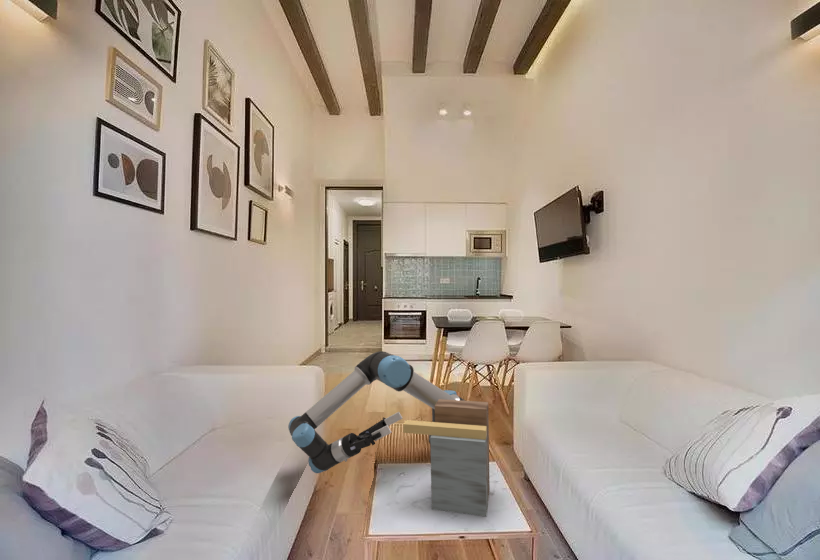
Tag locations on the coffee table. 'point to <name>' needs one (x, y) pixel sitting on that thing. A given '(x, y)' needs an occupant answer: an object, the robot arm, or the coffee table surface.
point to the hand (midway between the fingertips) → (395, 421)
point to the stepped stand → (460, 460)
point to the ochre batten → (445, 429)
